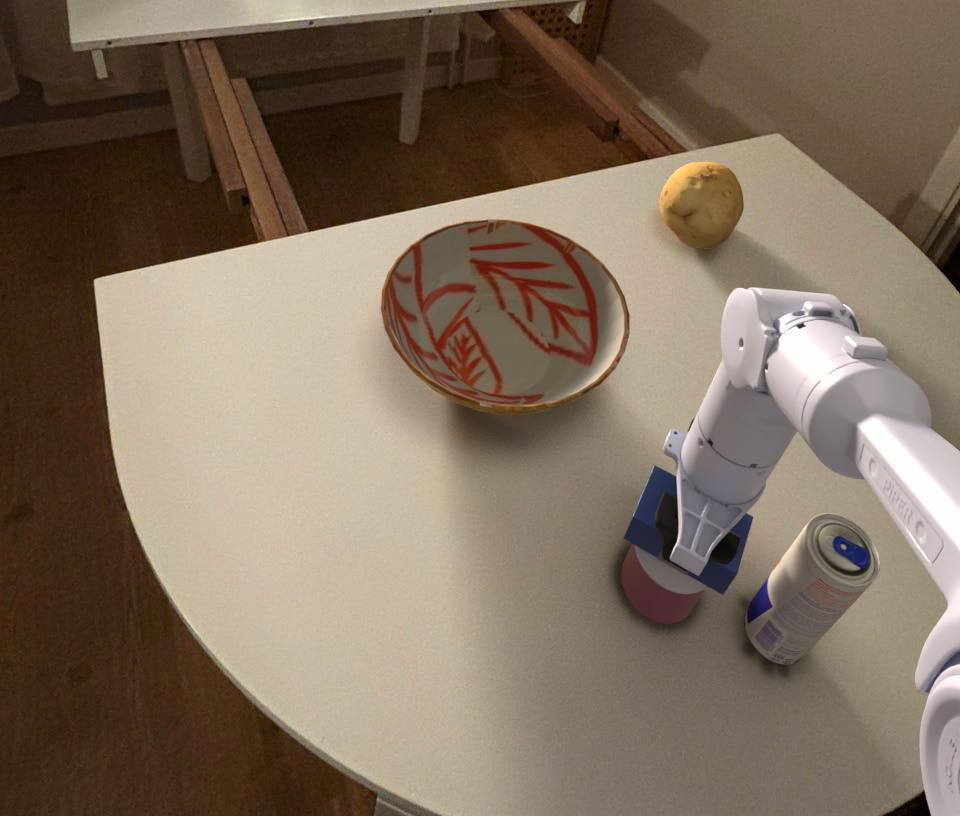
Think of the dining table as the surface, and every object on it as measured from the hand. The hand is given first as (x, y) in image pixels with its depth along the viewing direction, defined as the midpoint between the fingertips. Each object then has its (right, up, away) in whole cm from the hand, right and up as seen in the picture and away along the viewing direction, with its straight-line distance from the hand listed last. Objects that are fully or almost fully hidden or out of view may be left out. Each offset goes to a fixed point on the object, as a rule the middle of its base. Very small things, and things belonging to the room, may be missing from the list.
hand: (687, 528), depth 59 cm
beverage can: (+8, -10, +4) cm, 13 cm away
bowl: (-14, +8, +23) cm, 28 cm away
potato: (+12, +20, +42) cm, 48 cm away
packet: (0, -1, +1) cm, 2 cm away
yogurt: (-1, -7, +6) cm, 9 cm away
